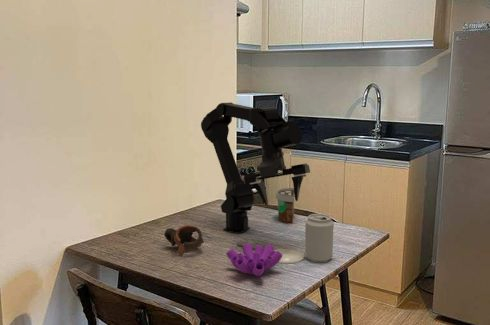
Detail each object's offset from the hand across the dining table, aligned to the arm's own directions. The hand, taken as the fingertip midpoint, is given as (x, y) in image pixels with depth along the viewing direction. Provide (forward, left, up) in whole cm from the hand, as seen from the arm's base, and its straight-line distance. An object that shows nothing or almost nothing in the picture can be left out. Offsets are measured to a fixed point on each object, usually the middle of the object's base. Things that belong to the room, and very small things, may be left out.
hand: (281, 203), depth 142 cm
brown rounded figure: (-22, -18, -13) cm, 31 cm away
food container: (-13, +24, -13) cm, 30 cm away
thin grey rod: (-5, -7, -13) cm, 16 cm away
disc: (+5, -7, -13) cm, 16 cm away
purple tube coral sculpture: (+4, -20, -13) cm, 24 cm away
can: (+13, -3, -13) cm, 19 cm away
